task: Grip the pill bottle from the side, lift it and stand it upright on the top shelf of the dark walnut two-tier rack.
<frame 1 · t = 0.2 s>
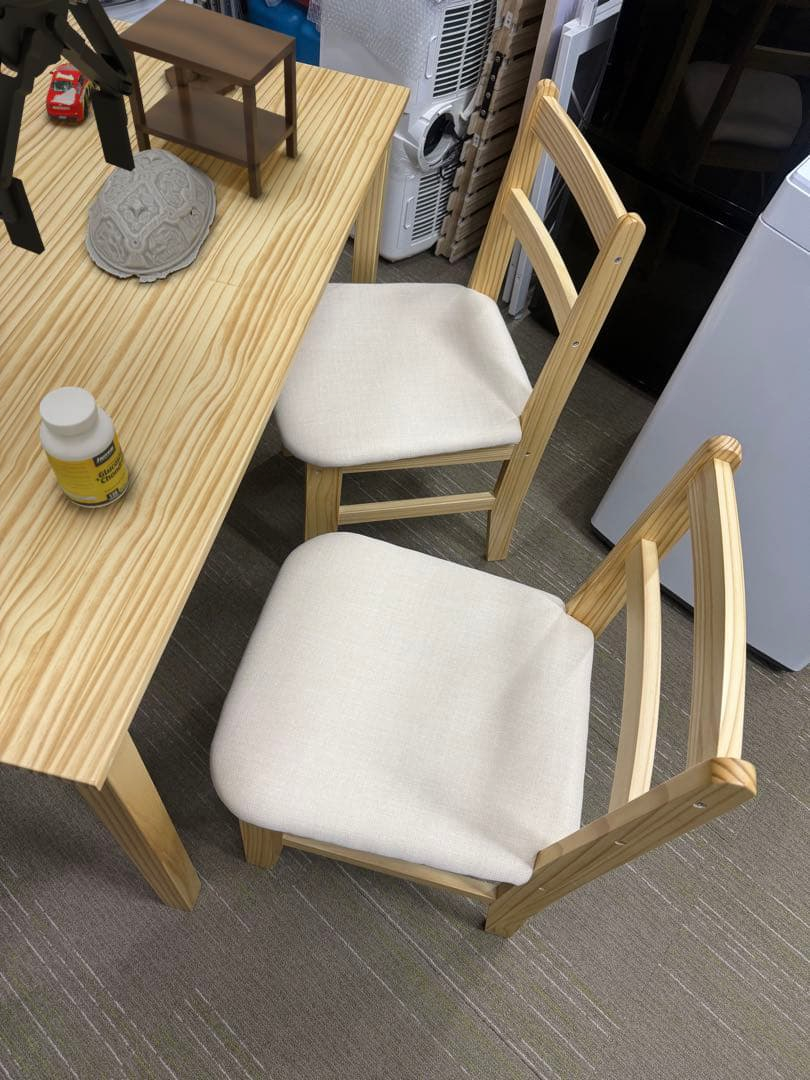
hand: (77, 204, 69), 20 cm above the table, tool pointing down, fingers open, 13 cm apart
race car: (73, 102, 112), on the table
pill bottle: (97, 485, 78), on the table
rack: (220, 156, 109), on the table
grey domed shell: (152, 219, 101), on the table
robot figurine: (199, 83, 118), on the table
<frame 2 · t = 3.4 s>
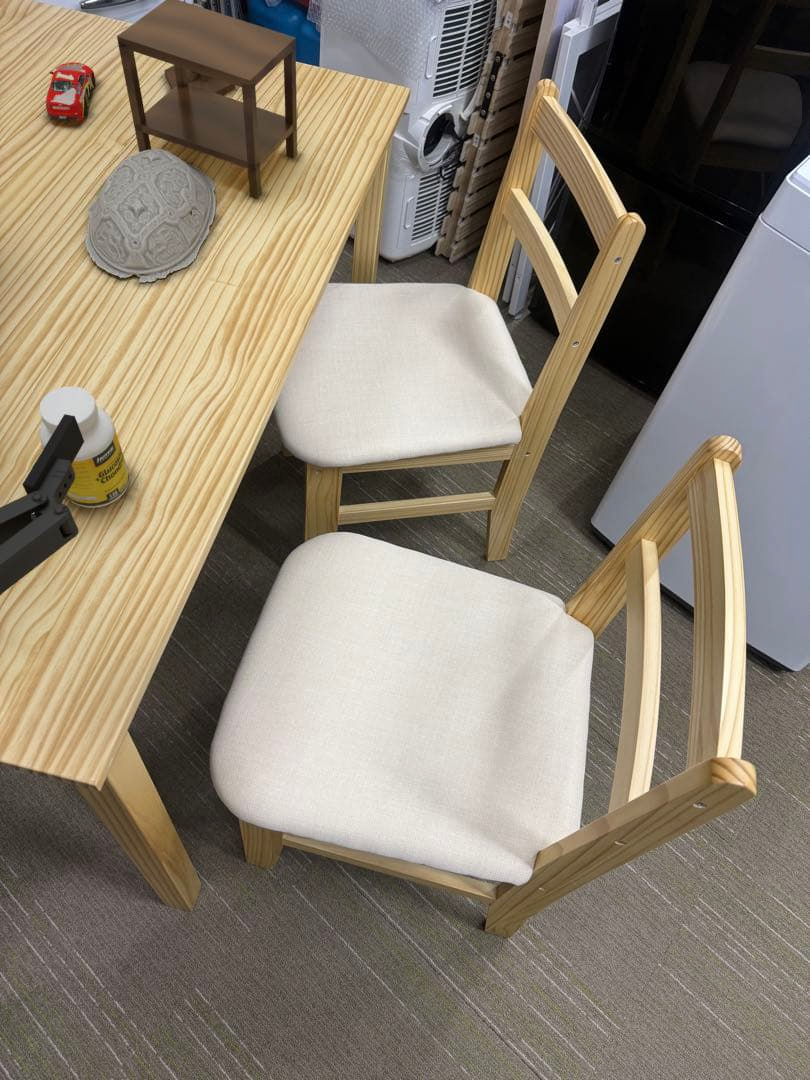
nothing on the table moved.
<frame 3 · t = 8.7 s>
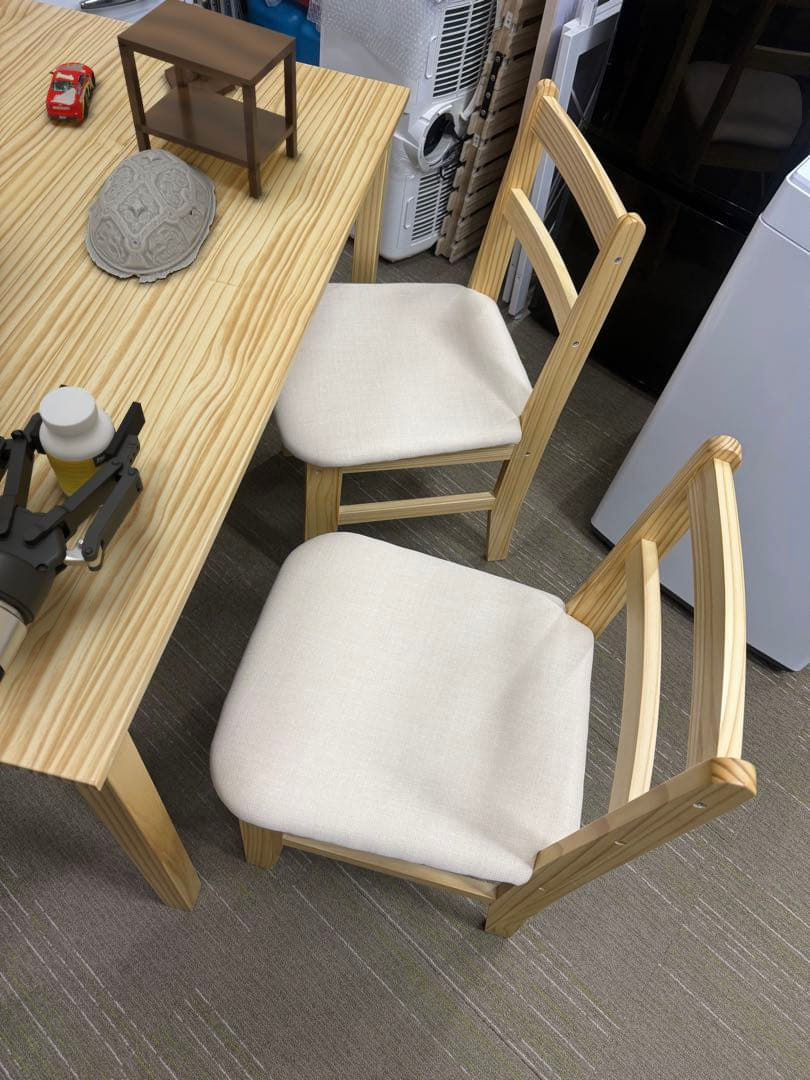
hand: (103, 403, 75), 7 cm above the table, tool horizontal, fingers closed on pill bottle, 6 cm apart
pill bottle: (97, 485, 78), on the table, touching gripper
everything else where it was.
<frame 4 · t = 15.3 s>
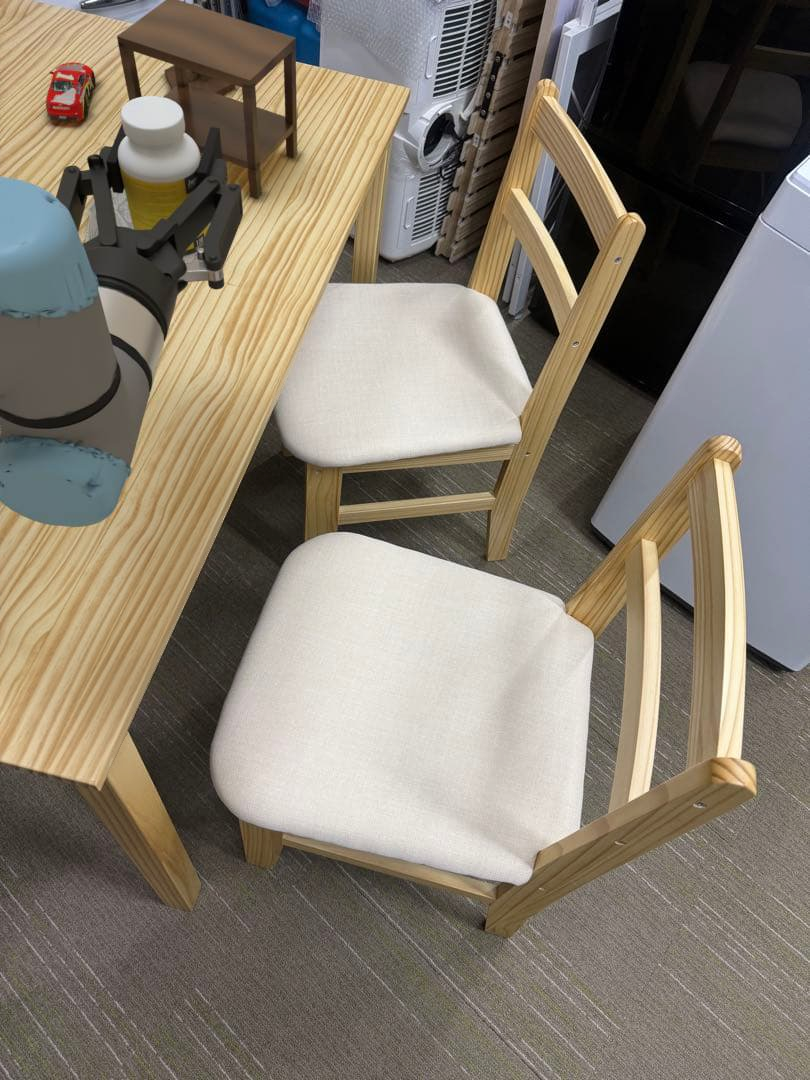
hand: (174, 138, 67), 26 cm above the table, tool horizontal, fingers closed on pill bottle, 6 cm apart
pill bottle: (174, 243, 70), point 19 cm above the table, touching gripper
everything else where it was.
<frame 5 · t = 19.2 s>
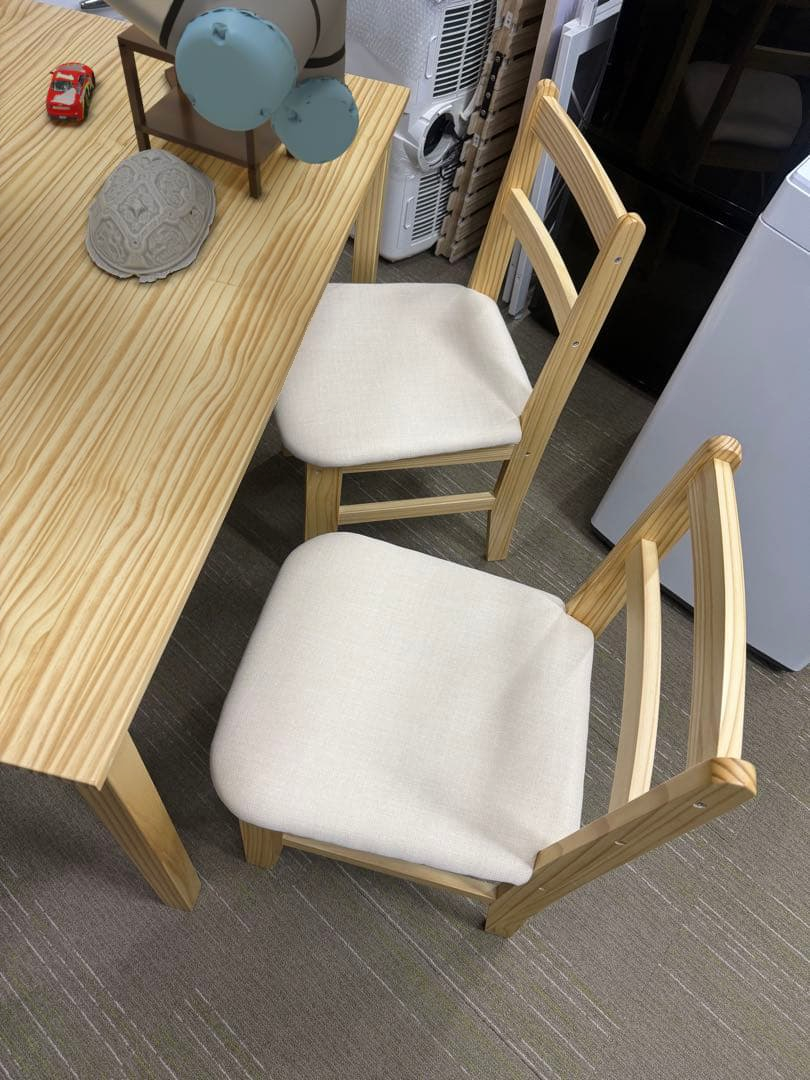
pill bottle: (222, 29, 90), point 19 cm above the table, touching gripper
everything else where it was.
when the fingers open (22 cm above the table, at t = 22.2 s): pill bottle stays where it is, resting on rack.
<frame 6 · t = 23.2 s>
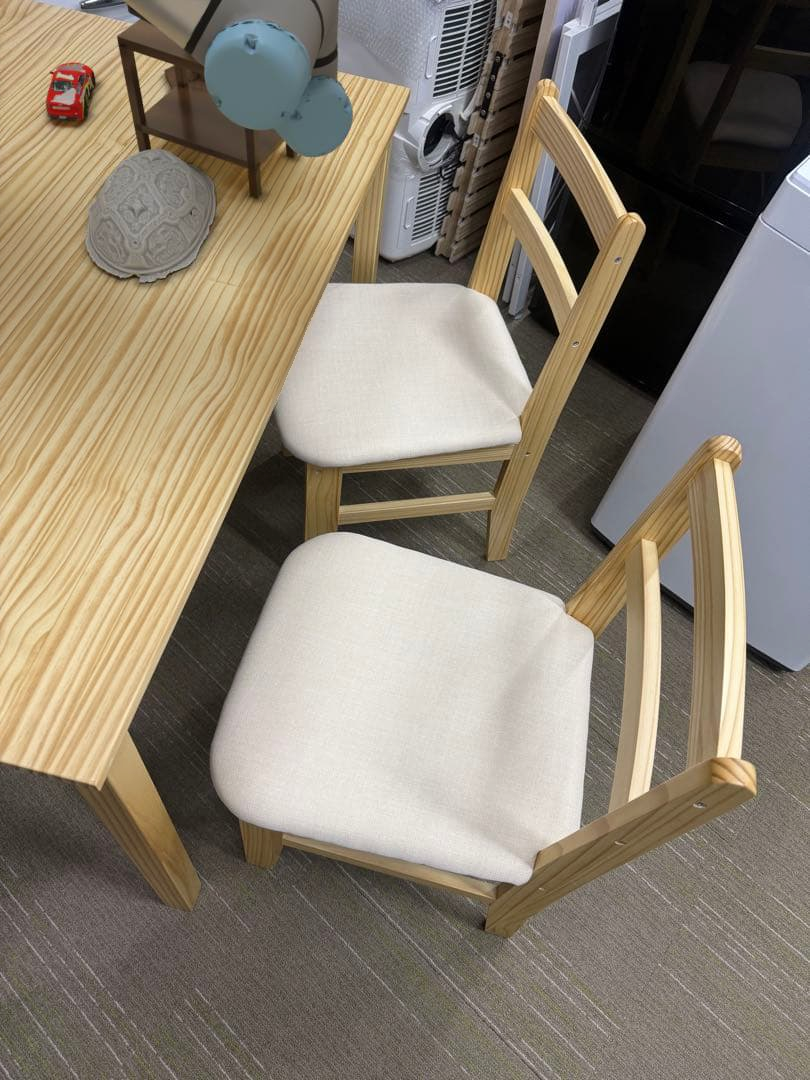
pill bottle: (208, 38, 96), point 15 cm above the table, touching rack
everything else where it was.
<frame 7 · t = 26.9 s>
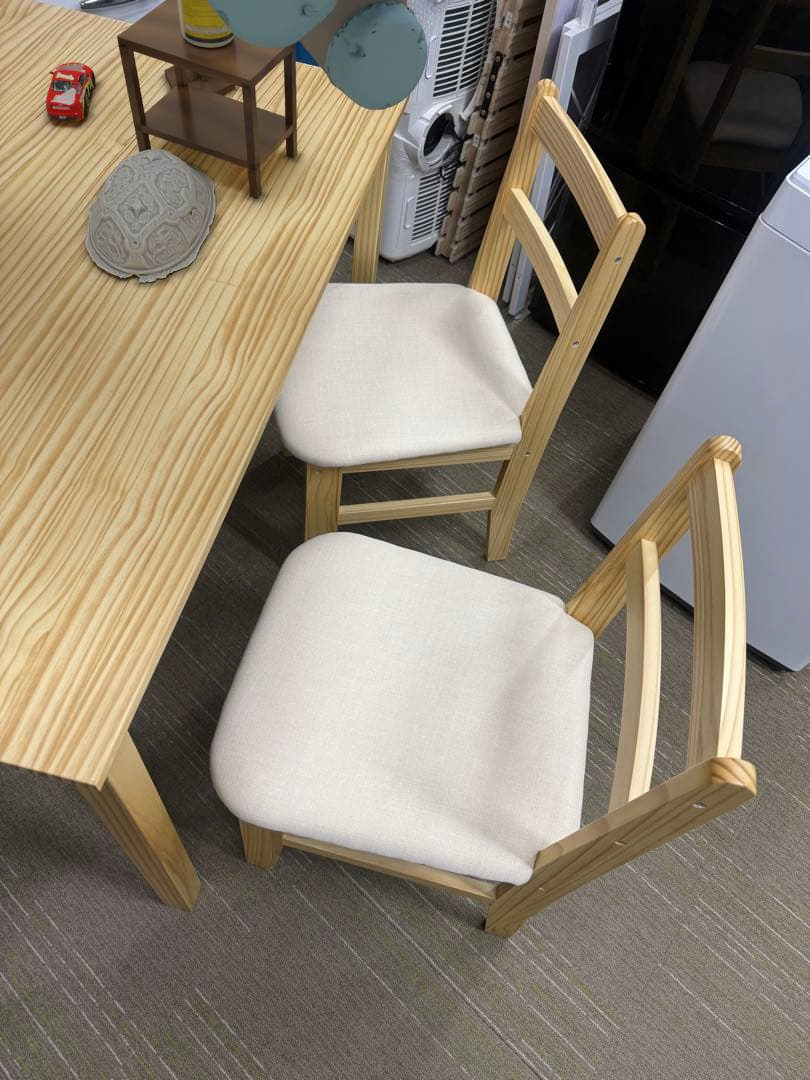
nothing on the table moved.
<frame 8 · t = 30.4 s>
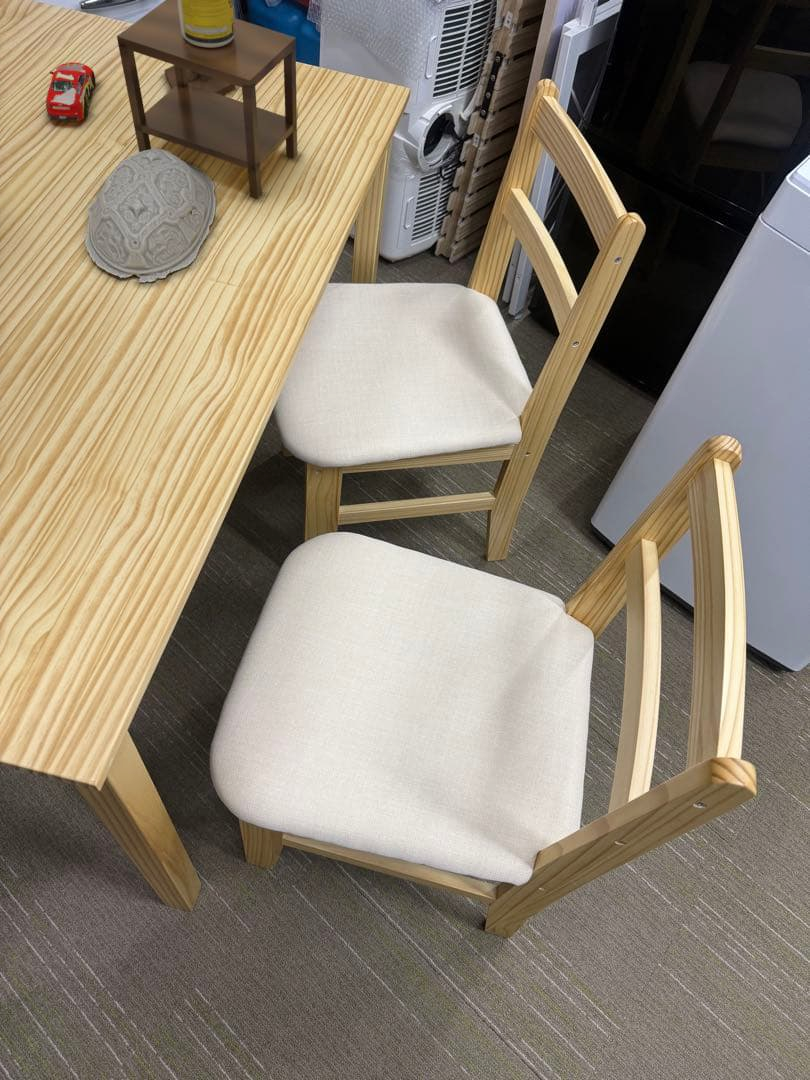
nothing on the table moved.
at the end: pill bottle inside the target area on the rack (0.1 cm from its centre), point 15.4 cm above the rack's base; pill bottle tilted 0°; the gripper is holding nothing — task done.
